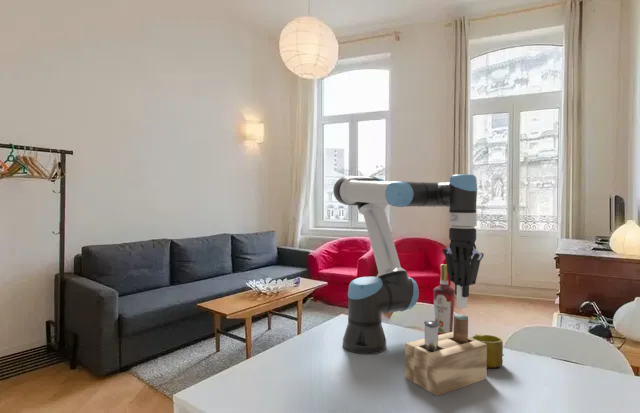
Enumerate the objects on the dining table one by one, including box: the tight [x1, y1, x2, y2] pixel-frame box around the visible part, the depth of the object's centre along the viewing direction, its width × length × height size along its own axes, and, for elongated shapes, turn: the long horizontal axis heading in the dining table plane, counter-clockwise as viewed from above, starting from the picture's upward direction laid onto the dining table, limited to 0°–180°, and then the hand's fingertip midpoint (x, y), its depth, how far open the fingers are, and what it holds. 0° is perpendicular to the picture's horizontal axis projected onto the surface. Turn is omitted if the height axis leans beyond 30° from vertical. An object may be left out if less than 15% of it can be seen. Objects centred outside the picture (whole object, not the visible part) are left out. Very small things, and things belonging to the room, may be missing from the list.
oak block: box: [404, 331, 488, 397], centre depth 112 cm, size 12×20×10 cm, turn 120°
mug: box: [470, 333, 504, 369], centre depth 123 cm, size 12×10×10 cm
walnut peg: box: [453, 313, 469, 344], centre depth 114 cm, size 4×4×9 cm
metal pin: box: [423, 319, 439, 352], centre depth 108 cm, size 4×4×9 cm
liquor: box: [433, 263, 456, 335], centre depth 139 cm, size 7×7×28 cm
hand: (461, 307), depth 114 cm, fingers closed
